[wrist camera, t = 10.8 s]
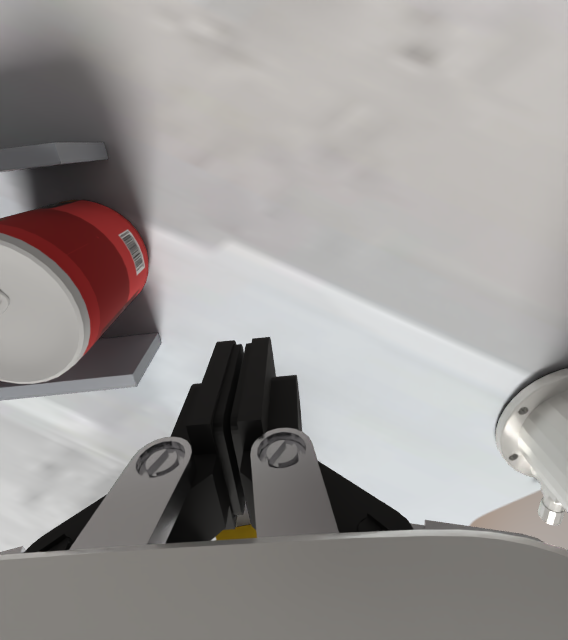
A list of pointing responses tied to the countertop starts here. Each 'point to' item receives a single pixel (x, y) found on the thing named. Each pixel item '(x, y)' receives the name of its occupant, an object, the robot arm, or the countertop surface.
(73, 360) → the canned food
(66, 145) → the box
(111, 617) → the robot arm
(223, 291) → the countertop surface
